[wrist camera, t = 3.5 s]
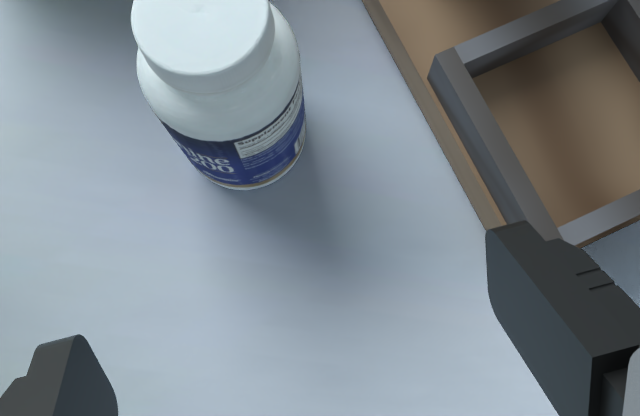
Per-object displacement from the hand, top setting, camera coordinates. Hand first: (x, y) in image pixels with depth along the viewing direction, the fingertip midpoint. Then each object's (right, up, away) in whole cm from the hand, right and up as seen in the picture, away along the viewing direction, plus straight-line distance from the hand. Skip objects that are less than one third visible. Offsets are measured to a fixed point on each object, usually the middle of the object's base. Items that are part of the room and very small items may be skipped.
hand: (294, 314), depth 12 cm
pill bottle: (-3, +5, +15) cm, 16 cm away
